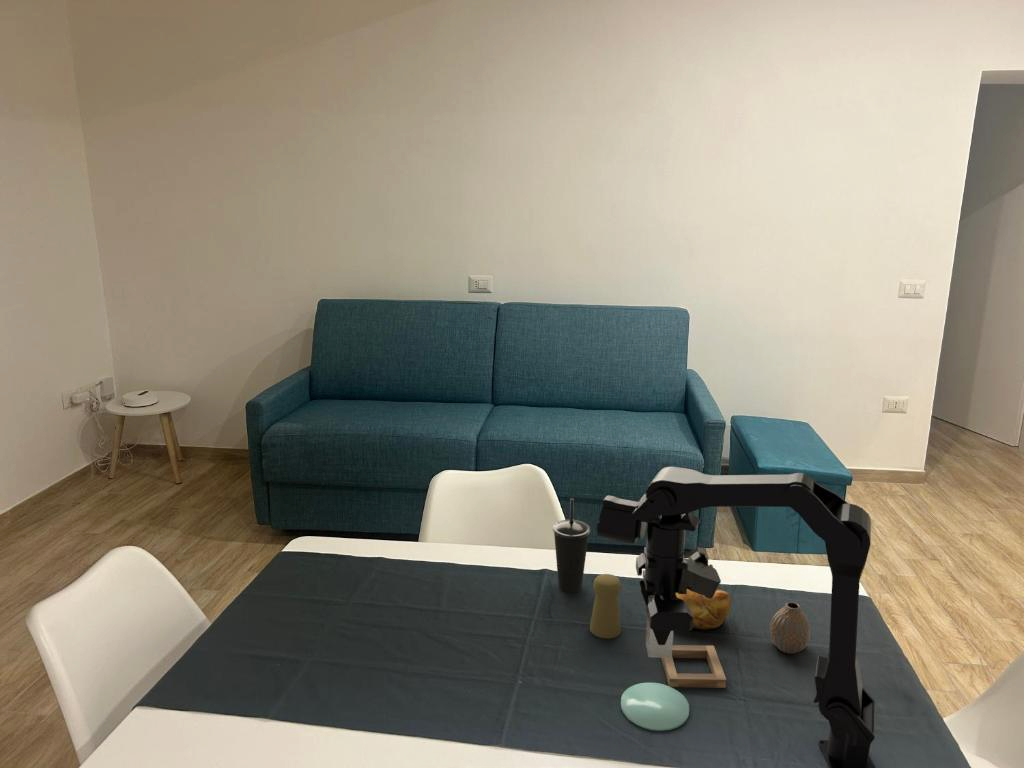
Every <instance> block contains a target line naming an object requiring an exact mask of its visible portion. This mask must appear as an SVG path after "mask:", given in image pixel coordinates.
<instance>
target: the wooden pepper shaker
mask: <svg viewBox="0 0 1024 768" xmlns="http://www.w3.org/2000/svg"><path fill="white" fill-rule="evenodd" d="M592 586H593V587H592V588H593V591H594V593H595V596H594V602H593V607H592V611H591V619H590V624H589V632H590V633H591V634H592V635H593V636H595V637H598V638H599V639H600V638H601V639H615V638H617V637H619V636H620V635H621V632H622V623H621V615H620V614H621V613H620V604H619V601H620V600H619V595H620V592H621V590H622V583H621V580H620V579H619V578H618V576H616V575H613V574H612V573H603V574H599V575H598V576H596V577H595V578H594V581H593V584H592Z"/></svg>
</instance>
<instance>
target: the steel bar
mask: <svg viewBox="0 0 1024 768" xmlns="http://www.w3.org/2000/svg"><path fill="white" fill-rule="evenodd" d="M660 599H661V598H660ZM653 600H654V598H653V595H649V596H648V604H649V603H651V602H652V601H653ZM645 632H646V633H645V646H646V651H647V656H648V658H661V659H662V658H672V645H674V644H673V643H674V631H671V632H670V634H669V637H668V639H667V641H666V644H665V645H658V643H657V640H656V638H655V635H654V632H653V630H652V629H651V628H650V625H649V621H648V618H647V617H646V631H645Z"/></svg>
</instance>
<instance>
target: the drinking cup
mask: <svg viewBox="0 0 1024 768" xmlns="http://www.w3.org/2000/svg"><path fill="white" fill-rule="evenodd" d="M569 503H570V504H569V505H570V507H569V509H570V510H569V519H563V520H559V521H557V522H555V523H554V524H553V526H552V531H553V536H554V546H555V548H554V549H555V558H556V574H557V583H558V588H559V590H560V591H561V592H563V593H567V594H576V593H578V592H580V591H581V590H582V589H583V588H582V587H583V581H584V572H585V563H586V557H587V549H588V542H589V534H590V532H591V527H590V525H589V524H588V523H586V522H584V521H582V520H577V519H574V510H575V507H574V505H575V499H574V498H570V502H569Z"/></svg>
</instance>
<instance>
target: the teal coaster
mask: <svg viewBox="0 0 1024 768" xmlns="http://www.w3.org/2000/svg"><path fill="white" fill-rule="evenodd" d="M620 708H621V711H622V713H623V715H624V716H625V717H626V718H627V719H628V720H629V721H630V722H631V723H633V724H634V725H636V726H638V727H640V728H643V729H645V730H650V731H657V732H658V731H659V732H661V731H662V732H663V731H664V732H665V731H670V730H675V729H677V728H679V727H681V726H682V725H683V724H685V723H686V722H687V720H688V718H689V716H690V715H689V714H690V705H689V701H688V700H687V698H686V697H685V695H683V694H682V692H679V690H677V689H675V687H669V685H668V684H667V685H666V684H662V683H658V682H642V683H640V682H639V683H637V684H633V685H632V686H630V687H628V688H626V690H625V691H624V692H623V693H622V695H621V699H620Z"/></svg>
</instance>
